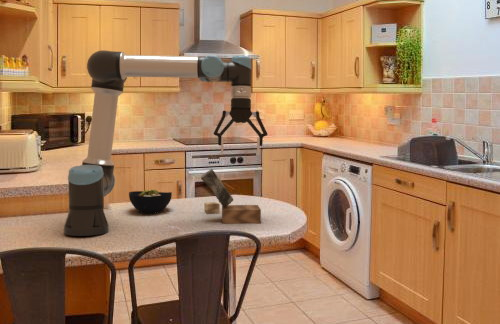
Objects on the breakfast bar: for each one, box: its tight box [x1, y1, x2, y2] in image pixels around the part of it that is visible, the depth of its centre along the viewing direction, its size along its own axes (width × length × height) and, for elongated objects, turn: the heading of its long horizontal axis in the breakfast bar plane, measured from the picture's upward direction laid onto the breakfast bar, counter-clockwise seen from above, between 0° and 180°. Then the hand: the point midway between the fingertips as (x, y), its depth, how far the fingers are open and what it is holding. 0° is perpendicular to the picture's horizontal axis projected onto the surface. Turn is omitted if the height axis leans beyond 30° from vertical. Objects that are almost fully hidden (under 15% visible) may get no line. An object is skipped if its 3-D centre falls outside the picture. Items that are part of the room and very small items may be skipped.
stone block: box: [200, 168, 234, 207], centre depth 205 cm, size 9×14×5 cm
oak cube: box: [203, 201, 221, 215], centre depth 219 cm, size 5×5×5 cm
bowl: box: [128, 189, 173, 215], centre depth 221 cm, size 17×17×10 cm
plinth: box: [221, 204, 262, 225], centre depth 206 cm, size 14×14×5 cm
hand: (240, 154), depth 205 cm, fingers open, 13 cm apart
